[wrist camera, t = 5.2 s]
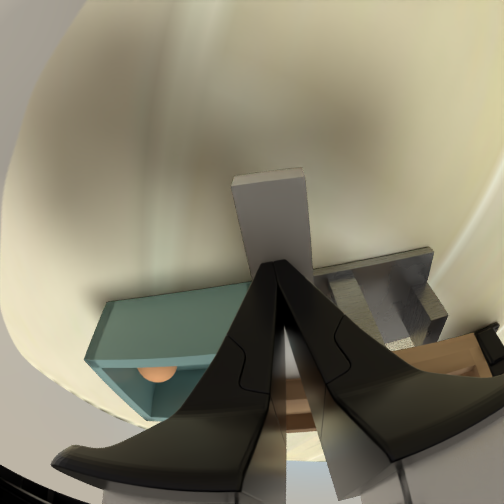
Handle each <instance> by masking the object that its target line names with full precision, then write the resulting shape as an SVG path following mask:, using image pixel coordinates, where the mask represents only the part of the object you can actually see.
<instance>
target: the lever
mask: <svg viewBox="0 0 504 504" xmlns="http://www.w3.org/2000/svg"><path fill="white" fill-rule="evenodd" d="M231 189H232V193H233V198H234V202H235V207H236V211H237V215H238V220H239V224H240V229H241V233H242V237H243V242H244V246H245V250H246V255H247V259H248V264H249V268H250V272H251V277H252V280H253V278H254V276H255V274H256V272H257V270H258V268H259V266H260V264H261V263H265V262H270V261H272V262H274V261H276V260H281V259H286V260H287V261H288V262H289V263H291V264H292V265H293V266H294V267H295V268H296V269H297V270H298V271H299V272H300V273H301V274H303V275H304V276H305V277H306V278H307V279H308V280H309V281H310V282H311V283H312V284H313V285H314V283H313V266H312V250H311V237H310V224H309V213H308V202H307V192H306V182H305V175H304V172H303V168H302V167H299V168H290V169H282V170H274V171H266V172H259V173H251V174H245V175H238V176H234V179H233V182H232V184H231ZM284 330H285V327H284ZM392 352H393V353H395V354H396V355H397V356H399V357H400V358H401V359H403V360H404V361H406V362H407V363H409V364H410V365H412V366H414V367H415V368H418V369H420V370H423V371H426V372H432V373H440V374H449V375H458V376H468V377H481V378H488V377H492V374H491V372H490V369H489V367H488V364H487V362H486V360H485V357H484V355H483V353H482V350H481V348H480V346H479V344H478V342H477V339H476V337H475V335H474V333H470V334H466V335H462V336H459V337H455V338H451V339H447V340H443V341H439V342H435V343H430V344H426V345H421V346H417V347H412V348H407V349H402V350H397V351H392ZM285 363H286V433H294V432H309V431H317V429H316V426H315V423H314V419H313V416H312V413H311V410H310V407H309V403H308V400H307V397H306V394H305V391H304V388H303V384H302V381H301V378H300V375H299V372H298V369H297V365H296V362H295V359H294V356H293V353H292V350H291V347H290V343H289V340H288V337H287V334H286V331H285Z"/></svg>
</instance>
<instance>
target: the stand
mask: <svg viewBox="0 0 504 504" xmlns="http://www.w3.org/2000/svg"><path fill="white" fill-rule="evenodd" d="M433 255H434V251H433V250H432V249H431V248H430V247H427V248H422V249H417V250H412V251H407V252H402V253H398V254H393V255H388V256H383V257H377V258H372V259H367V260H362V261H357V262H352V263H346V264H341V265H335V266H330V267H325V268H319V269H313V283H314V286H316V287H317V288H318V289H319V290H320V291H321V292H322V293H323V294H324V295H325V296H326V297H327V298H329V299H330V300H331V301H332V302H333V303H334V304H335V305H336V306H337V307H338V308H339V309H340V310H341V311H342V312H344V315H345V314H346V315H347V316H348V317H349V318H350V319H351V320H352V321H353V322H354V323H356V324H357V325H358V326H359V327H360V328H361V329H362V330H364V331H365V332H366V333H367V334H369V335H370V336H371V337H373V338H374V339H375V340H377V341H378V342H379V343H381V344H382V345H383V346H385V344H386V343H390V342H393V341H397V340H400V339H404V338H407V337H410V338H411V340H412V342H413V344H414V346H415V347H417V346H421V345H426V344H430V343H435V342H437V340H438V338H439V336H440V334H441V331H442V329H443V327H444V324H445V322H446V320H447V317H448V313H447V312H446V310H445V309H444V307H443V305H442V304H441V302H440V301H439V299H438V298H437V296H436V295H435V293H434V292H433V290H432V289H431V287H430V286H429V284H428V283H427V280H428V276H429V272H430V268H431V263H432V259H433ZM385 347H386V346H385Z"/></svg>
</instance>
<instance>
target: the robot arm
mask: <svg viewBox="0 0 504 504" xmlns="http://www.w3.org/2000/svg"><path fill="white" fill-rule="evenodd" d="M499 326H500V325H499V323H495V324H493V325H491V326H489V327H487V328H485V329H482V330H480V331H478V332H475V333H474V335H475V337H476V339H477V342H478V344H479V346H480V348H481V350H482V353H483V355H484V357H485V360H486V362H487V364H488V367H489V369H490V372H491V374H492V377H488V378H481V377H468V376H458V375H449V374H440V373H432V372H426V371H423V370H420V369H418V368H415V367H414V366H412V365H410V364H409V363H407V362H406V361H404V360H403V359H401V358H400V357H399V356H397V355H396V354H395V353H393V352H392V351H390V350H389V349H388V348H386V347H385V346H383V345H382V344H381V343H379V342H378V341H377V340H375V339H374V338H373V337H371V336H370V335H369V334H367V333H366V332H365V331H364V330H362V329H361V328H360V327H359V326H358V325H357V324H356V323H354V322H353V321H352V320H351V319H350V318H349V317H348V316H347V315H346V314H345V315H344V312H342V311H341V310H340V309H339V308H338V307H337V306H336V305H335V304H334V303H333V302H332V301H331V300H330V299H329V298H327V297H326V296H325V295H324V294H323V293H322V292H321V291H320V290H319V289H318V288H317V287H316V286H314V285H313V284H312V283H311V282H310V281H309V280H308V279H307V278H306V277H305V276H304V275H303V274H301V273H300V272H299V271H298V270H297V269H296V268H295V267H294V266H293V265H292V264H291V263H289V262H288V261H287V260H286V259H281V260H276V261H274V262H272V261H270V262H265V263H261V264H260V266H259V268H258V270H257V272H256V274H255V276H254V278H253V280H252V282H251V284H250V286H249V289H248V291H247V293H246V295H245V297H244V299H243V301H242V303H241V305H240V307H239V309H238V311H237V313H236V315H235V317H234V319H233V322H232V324H231V326H230V328H229V330H228V332H227V334H226V335H227V336H225V338H224V340H223V342H222V344H221V346H220V348H219V349H218V351H217V353H216V355H215V357H214V359H213V360H212V362H211V363H210V365H209V366H208V368H207V370H206V371H205V373H204V374H203V376H202V377H201V378H200V380H199V381H198V383H197V384H196V386H195V387H194V389H193V390H192V392H191V393H190V394H189V396H188V397H187V399H186V400H185V402H184V403H183V404H182V406H181V407H180V408H179V409H178V410H177V411H176V412H175V413H174V414H173V415H172V416H171V417H169V418H168V419H166V420H164V421H162V422H160V423H159V424H157V425H155V426H153V427H151V428H149V429H147V430H145V431H143V432H141V433H139V434H137V435H135V436H133V437H131V438H129V439H127V440H125V441H122V442H120V443H118V444H115V445H113V446H109V447H105V448H90V447H85V446H80V445H72V446H70V447H68V448H66V449H65V450H63V451H62V452H60V453H59V454H58V455H57V456H56V457H55V458H54V459H53V461H52V463H51V466H52V467H53V468H55V469H56V470H58V471H60V472H62V473H64V474H66V475H68V476H71V477H73V478H75V479H78V480H80V481H82V482H84V483H87V484H89V485H92V486H94V487H97V488H100V489H103V490H104V491H103V501H102V504H286V363H285V331H286V334H287V337H288V340H289V343H290V347H291V350H292V353H293V356H294V359H295V362H296V365H297V369H298V372H299V375H300V378H301V381H302V384H303V388H304V391H305V394H306V397H307V400H308V403H309V407H310V410H311V413H312V416H313V419H314V423H315V426H316V429H317V432H318V436H319V439H320V441H321V445H322V449H323V452H324V455H325V458H326V462H327V465H328V468H329V471H330V475H331V478H332V481H333V484H334V488H335V491H336V494H337V498H338V501H340V500H344V499H348V498H352V497H356V496H360V495H361V501H362V504H504V346H503V344H502V342H501V341H500V339H499V337H498V336H497V334H496V332H497V330H498V328H499ZM284 327H285V330H284ZM0 504H89V503H86V502H83V501H80V500H77V499H74V498H72V497H69V496H66V495H64V494H61V493H58V492H56V491H53V490H51V489H48V488H46V487H44V486H42V485H39V484H37V483H35V482H33V481H31V480H29V479H27V478H24V477H22V476H21V475H18V474H17V473H15V472H13V471H11V470H9V469H7V468H6V467H4V466H2V465H0Z"/></svg>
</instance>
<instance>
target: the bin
mask: <svg viewBox="0 0 504 504" xmlns="http://www.w3.org/2000/svg"><path fill="white" fill-rule="evenodd" d="M251 282H252V281H251ZM251 282H245V283H238V284H232V285H226V286H219V287H213V288H206V289H199V290H193V291H186V292H179V293H172V294H165V295H157V296H150V297H142V298H135V299H127V300H119V301H111V302H107V303H106V305H105V308H104V310H103V312H102V315H101V317H100V320H99V322H98V324H97V327H96V329H95V332H94V334H93V337H92V339H91V342H90V344H89V347H88V350H87V352H86V355H85V358H84V360H85V362H86V363H87V364H88V365H89V366H90V367H91V368H92V369H93V370H94V371H95V372H96V374H97V375H98V376H99V377H100V378H101V379H102V380H103V381H104V382H105V383H106V384H107V385H108V386H109V387H110V388H111V389H112V390H113V391H114V392H115V393H116V394H117V395H118V396H119V397H120V398H121V399H123V400H124V401H125V402H126V403H127V404H128V405H129V406H130V407H131V408H132V409H133V410H135V411H136V412H137V413H138V414H139V415H140V416H141V417H143V418H144V419H145V420H146V421H164V420H166V419H168V418H169V417H171V416H172V415H173V414H174V413H175V412H176V411H177V410H178V409H179V408H180V407H181V406H182V404H183V403H184V402H185V400H186V399H187V397H188V396H189V394H190V393H191V392H192V390H193V389H194V387H195V386H196V384H197V383H198V381H199V380H200V378H201V377H202V376H203V374H204V373H205V371H206V370H207V368H208V366H209V365H210V363H211V362H212V360H213V359H214V357H215V355H216V353H217V351H218V349H219V348H220V346H221V344H222V342H223V340H224V338H225V336H227V335H226V334H227V332H228V330H229V328H230V326H231V324H232V322H233V319H234V317H235V315H236V313H237V311H238V309H239V307H240V305H241V303H242V301H243V299H244V297H245V295H246V293H247V291H248V289H249V286H250V284H251ZM170 366H177V369H176V372H175V373H174V375H173V376H172V377H171V378H170V379H168V380H167V381H164V382H152V381H149V380H147V379H145V378H144V377H143V376H142V375H141V374H140V372H139V371H138V369H137V368H145V367H170Z"/></svg>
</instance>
